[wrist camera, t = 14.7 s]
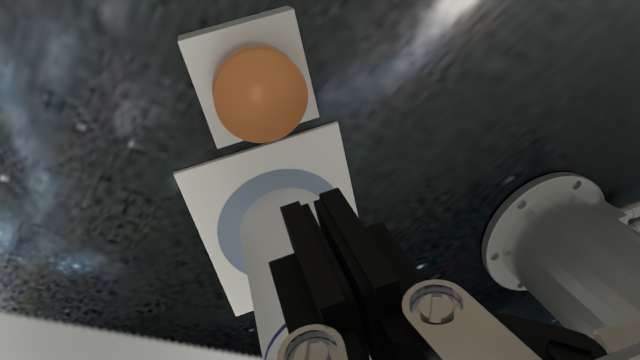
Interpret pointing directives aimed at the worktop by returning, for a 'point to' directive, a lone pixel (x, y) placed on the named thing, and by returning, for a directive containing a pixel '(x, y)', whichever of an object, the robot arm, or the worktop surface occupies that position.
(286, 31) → the button housing
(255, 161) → the white flat plate
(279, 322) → the cylindrical container
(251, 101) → the button
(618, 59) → the worktop surface
